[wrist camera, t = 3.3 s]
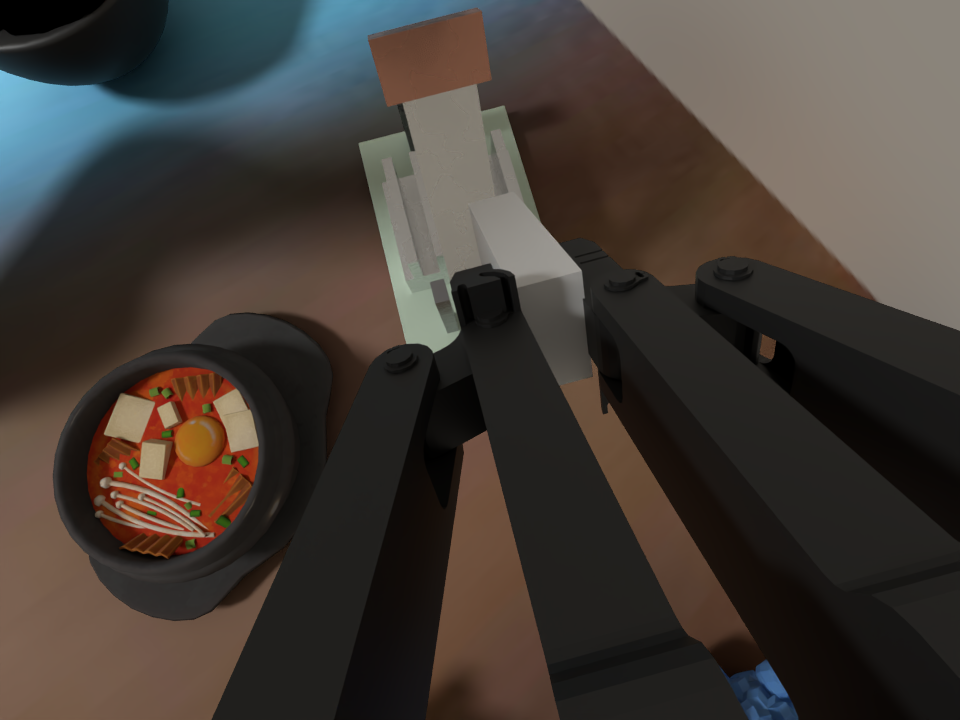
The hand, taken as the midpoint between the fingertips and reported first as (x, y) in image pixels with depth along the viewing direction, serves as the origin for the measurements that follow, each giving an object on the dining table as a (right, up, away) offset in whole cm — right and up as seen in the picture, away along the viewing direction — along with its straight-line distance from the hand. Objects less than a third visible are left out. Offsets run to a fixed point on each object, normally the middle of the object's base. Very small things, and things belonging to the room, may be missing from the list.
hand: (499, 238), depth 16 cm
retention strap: (-2, +7, +14) cm, 16 cm away
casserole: (-22, -12, +26) cm, 36 cm away
